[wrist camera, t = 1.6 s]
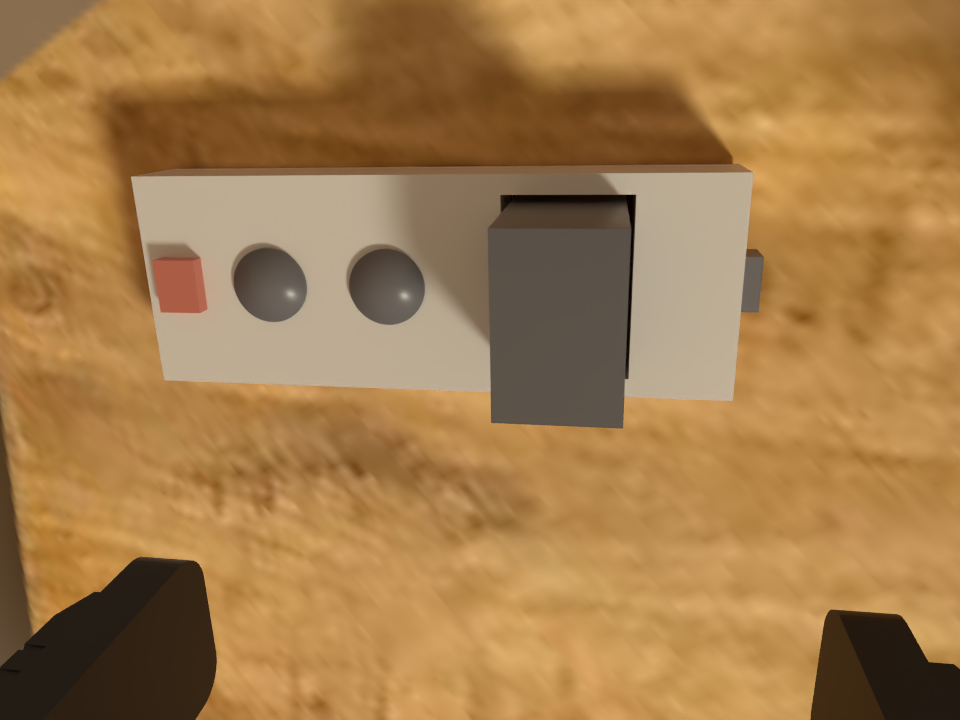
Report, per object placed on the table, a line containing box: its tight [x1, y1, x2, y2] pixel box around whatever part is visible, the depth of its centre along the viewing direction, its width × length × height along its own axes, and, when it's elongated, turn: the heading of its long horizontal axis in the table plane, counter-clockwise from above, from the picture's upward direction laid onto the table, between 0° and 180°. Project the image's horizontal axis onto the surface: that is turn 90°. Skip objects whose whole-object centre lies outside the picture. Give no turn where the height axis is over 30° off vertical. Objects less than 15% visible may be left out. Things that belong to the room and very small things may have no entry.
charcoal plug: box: [488, 195, 631, 428], centre depth 26 cm, size 4×6×8 cm, turn 2°
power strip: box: [131, 164, 764, 401], centre depth 29 cm, size 23×8×4 cm, turn 91°
